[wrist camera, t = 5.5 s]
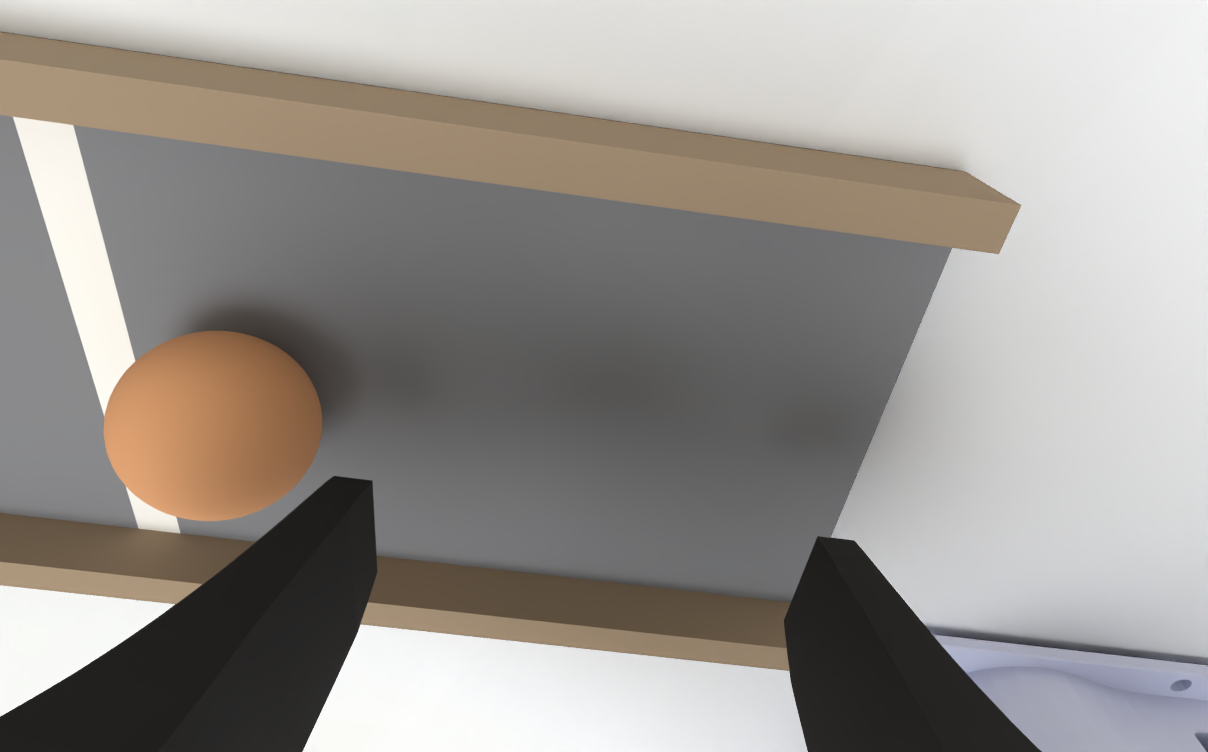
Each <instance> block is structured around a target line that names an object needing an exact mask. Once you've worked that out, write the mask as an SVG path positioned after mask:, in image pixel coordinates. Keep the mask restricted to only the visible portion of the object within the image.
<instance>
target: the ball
mask: <svg viewBox="0 0 1208 752" xmlns="http://www.w3.org/2000/svg"><path fill="white" fill-rule="evenodd" d="M103 434H104V440H105V447H106V452H107V455H108V457H109V460H110V462H111V465H112V467H113V469H114V471H115V472H116V474H117V476H118V477H119V478H120V479H121V481H122V482H123V483H124V484H125V486H126V487H127V488H128V489H129V490H130V491H131V492H132V493H133V494H134V495H135V496H137V497H138V498H139V499H141V500H142V501H143V502H145V503H146V504H148V505H150V506H151V507H153V508H155V509H157V510H159V511H161V512H164V513H166V514H169V515H172V516H175V517H179V518H184V519H189V520H196V521H222V520H229V519H235V518H239V517H243V516H246V515H249V514H252V513H254V512H257V511H260V510H262V509H264V508H266V507H268V506H270V505H271V504H273V503H274V502H276V501H277V500H279V499H281V498H282V497H283V496H285V495H286V494H287V493H288V492H289V491H291V490H292V489H293V488H294V487H295V486H296V485H297V483H298V482H299V481H300V480H301V479H302V478H303V476H304V475H305V473H306V472H307V470H308V469H309V467H310V466H311V464H312V462H313V460H314V458H315V455H316V453H317V451H318V448H319V444H320V439H321V434H322V411H321V405H320V402H319V398H318V395H317V392H316V390H315V388H314V386H313V384H312V382H311V380H310V378H309V377H308V375H307V374H306V372H305V371H304V370H303V368H302V367H301V366H300V365H299V364H298V363H297V362H296V361H295V360H294V359H293V358H292V357H291V356H289V355H288V354H287V353H286V352H284V351H283V350H281V349H280V348H278V347H277V346H275V345H273V344H271V343H269V342H267V341H265V340H262V339H259V338H257V337H254V336H250V335H247V334H242V333H237V332H230V331H203V332H195V333H191V334H186V335H183V336H179V337H176V338H174V339H171V340H168V341H166V342H164V343H162V344H160V345H158V346H156V347H154V348H153V349H151V350H150V351H148V352H147V353H145V354H144V355H142V356H141V357H140V358H139V359H137V360H136V361H135V362H134V363H133V364H132V365H131V366H130V367H129V368H128V369H127V370H126V371H125V373H124V374H123V375H122V377H121V378H120V379H119V381H118V382H117V384H116V386H115V387H114V389H113V391H112V393H111V395H110V398H109V401H108V404H107V408H106V411H105V417H104V431H103Z"/></svg>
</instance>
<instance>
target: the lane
mask: <svg viewBox="0 0 1208 752" xmlns="http://www.w3.org/2000/svg"><path fill="white" fill-rule="evenodd" d="M1020 207H1021V205H1020V204H1018V203H1016V202H1015V201H1013V200H1011V199H1010V198H1008V197H1006V196H1005V195H1003V194H1001V193H1000V192H998V191H996V190H995V189H993V188H991V187H990V186H988V185H986V184H985V183H983V182H981V181H980V180H978V179H976V178H975V177H973V176H971V175H970V174H968V173H966V172H963V171H957V170H950V169H943V168H936V167H929V166H922V165H915V164H908V163H901V162H894V161H887V160H881V159H874V158H867V157H860V156H853V155H846V154H839V153H832V152H825V151H818V150H812V149H805V148H798V147H791V146H784V145H777V144H770V143H763V142H756V141H749V140H742V139H736V138H729V137H722V136H715V135H708V134H701V133H694V132H687V131H680V130H673V129H667V128H660V127H653V126H646V125H639V124H632V123H625V122H618V121H611V120H604V119H597V118H591V117H584V116H577V115H570V114H563V113H556V112H549V111H542V110H535V109H528V108H522V107H515V106H508V105H501V104H494V103H487V102H480V101H473V100H466V99H459V98H452V97H446V96H439V95H432V94H425V93H418V92H411V91H404V90H397V89H390V88H383V87H376V86H370V85H363V84H356V83H349V82H342V81H335V80H328V79H321V78H314V77H307V76H301V75H294V74H287V73H280V72H273V71H266V70H259V69H252V68H245V67H238V66H231V65H225V64H218V63H211V62H204V61H197V60H190V59H183V58H176V57H169V56H162V55H156V54H149V53H142V52H135V51H128V50H121V49H114V48H107V47H100V46H93V45H86V44H80V43H73V42H66V41H59V40H52V39H45V38H38V37H31V36H24V35H17V34H11V33H4V32H0V585H4V586H13V587H23V588H32V589H41V590H50V591H59V592H69V593H78V594H87V595H96V596H106V597H115V598H124V599H133V600H142V601H152V602H161V603H170V604H177V603H178V602H179V601H181V600H182V599H184V598H185V597H186V596H188V595H189V594H190V593H192V592H193V591H194V590H196V589H197V588H198V587H200V586H201V585H202V584H204V583H205V582H206V581H208V580H209V579H210V578H212V577H213V576H214V575H215V574H217V573H218V572H219V571H220V570H222V569H223V568H224V567H226V566H227V565H228V564H229V563H230V562H232V561H233V560H234V559H235V558H237V557H238V556H239V555H240V554H241V553H243V552H244V551H245V550H246V549H248V548H249V547H250V546H251V545H252V544H254V543H255V542H256V541H257V540H259V539H260V538H261V537H262V536H263V535H265V534H266V533H267V532H268V531H269V530H271V529H272V528H273V527H274V526H275V525H276V524H278V523H279V522H280V521H281V520H282V519H283V518H285V517H286V516H287V515H288V514H289V513H290V512H292V511H293V510H294V509H295V508H296V507H297V506H298V505H300V504H301V503H302V502H303V501H304V500H305V499H306V498H308V497H309V496H310V495H311V494H312V493H313V492H315V491H316V490H317V489H318V488H319V487H320V486H321V485H323V484H324V483H325V482H326V481H327V480H329V479H330V478H332V477H333V476H340V477H348V478H356V479H364V480H372V481H373V500H374V518H375V536H376V554H377V575H376V578H375V581H374V584H373V588H372V591H371V594H370V597H369V600H368V603H367V606H366V609H365V612H364V615H363V618H362V621H361V624H363V625H372V626H382V627H391V628H400V629H409V630H418V631H428V632H437V633H446V634H455V635H464V636H474V637H483V638H492V639H501V640H510V641H520V642H529V643H538V644H547V645H556V646H566V647H575V648H584V649H593V650H602V651H612V652H621V653H630V654H639V655H648V656H658V657H667V658H676V659H685V660H695V661H704V662H713V663H722V664H731V665H741V666H750V667H759V668H768V669H777V670H787V671H790V670H789V663H788V656H787V647H786V638H785V628H784V618H785V616H786V613H787V611H788V608H789V606H790V603H791V601H792V599H793V596H794V594H795V591H796V589H797V586H798V584H799V581H800V579H801V576H802V574H803V571H804V569H805V566H806V564H807V561H808V559H809V556H810V554H811V551H812V549H813V546H814V544H815V541H816V539H817V536H820V537H828V538H830V537H831V535H832V533H833V530H834V528H835V525H836V523H837V521H838V518H839V516H840V513H841V511H842V509H843V506H844V504H845V502H846V499H847V497H848V494H849V492H850V490H851V487H852V485H853V483H854V480H855V478H856V475H857V473H858V471H859V468H860V466H861V463H862V461H863V459H864V456H865V454H866V452H867V449H868V447H869V444H870V442H871V440H872V437H873V435H874V433H875V430H876V428H877V425H878V423H879V421H880V418H881V416H882V413H883V411H884V409H885V406H886V404H887V402H888V399H889V397H890V394H891V392H892V390H893V387H894V385H895V383H896V380H897V378H898V375H899V373H900V371H901V368H902V366H903V364H904V361H905V359H906V356H907V354H908V352H909V349H910V347H911V344H912V342H913V340H914V337H915V335H916V333H917V330H918V328H919V325H920V323H921V321H922V318H923V316H924V314H925V311H926V309H927V306H928V304H929V302H930V299H931V297H932V294H933V292H934V290H935V287H936V285H937V283H938V280H939V278H940V275H941V273H942V271H943V268H944V266H945V264H946V261H947V259H948V256H949V254H950V252H951V249H952V248H959V249H966V250H973V251H980V252H987V253H995V254H999V252H1000V250H1001V248H1002V246H1003V244H1004V241H1005V239H1006V237H1007V235H1008V233H1009V231H1010V228H1011V226H1012V224H1013V222H1014V220H1015V217H1016V215H1017V213H1018V211H1019V209H1020ZM203 331H230V332H237V333H242V334H247V335H250V336H254V337H257V338H259V339H262V340H265V341H267V342H269V343H271V344H273V345H275V346H277V347H278V348H280V349H281V350H283V351H284V352H286V353H287V354H288V355H289V356H291V357H292V358H293V359H294V360H295V361H296V362H297V363H298V364H299V365H300V366H301V367H302V368H303V370H304V371H305V372H306V374H307V375H308V377H309V378H310V380H311V382H312V384H313V386H314V388H315V390H316V392H317V395H318V398H319V402H320V405H321V411H322V434H321V439H320V444H319V448H318V451H317V453H316V455H315V458H314V460H313V462H312V464H311V466H310V467H309V469H308V470H307V472H306V473H305V475H304V476H303V478H302V479H301V480H300V481H299V482H298V483H297V485H296V486H295V487H294V488H293V489H292V490H291V491H289V492H288V493H287V494H286V495H285V496H283V497H282V498H281V499H279V500H277V501H276V502H274V503H273V504H271V505H270V506H268V507H266V508H264V509H262V510H260V511H257V512H254V513H252V514H249V515H246V516H243V517H239V518H235V519H229V520H222V521H196V520H189V519H184V518H179V517H175V516H172V515H169V514H166V513H164V512H161V511H159V510H157V509H155V508H153V507H151V506H150V505H148V504H146V503H145V502H143V501H142V500H141V499H139V498H138V497H137V496H135V495H134V494H133V493H132V492H131V491H130V490H129V489H128V488H127V487H126V486H125V484H124V483H123V482H122V481H121V479H120V478H119V477H118V476H117V474H116V472H115V471H114V469H113V467H112V465H111V462H110V460H109V457H108V455H107V452H106V447H105V440H104V434H103V431H104V417H105V411H106V408H107V404H108V401H109V398H110V395H111V393H112V391H113V389H114V387H115V386H116V384H117V382H118V381H119V379H120V378H121V377H122V375H123V374H124V373H125V371H126V370H127V369H128V368H129V367H130V366H131V365H132V364H133V363H134V362H135V361H136V360H137V359H139V358H140V357H141V356H142V355H144V354H145V353H147V352H148V351H150V350H151V349H153V348H154V347H156V346H158V345H160V344H162V343H164V342H166V341H168V340H171V339H174V338H176V337H179V336H183V335H186V334H191V333H195V332H203Z"/></svg>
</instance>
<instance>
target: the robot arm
mask: <svg viewBox="0 0 1208 752" xmlns="http://www.w3.org/2000/svg"><path fill="white" fill-rule="evenodd" d="M376 575H377V554H376V536H375V518H374V500H373V481H372V480H364V479H356V478H348V477H340V476H333V477H332V478H330V479H329V480H327V481H326V482H325V483H324V484H323V485H321V486H320V487H319V488H318V489H317V490H316V491H315V492H313V493H312V494H311V495H310V496H309V497H308V498H306V499H305V500H304V501H303V502H302V503H301V504H300V505H298V506H297V507H296V508H295V509H294V510H293V511H292V512H290V513H289V514H288V515H287V516H286V517H285V518H283V519H282V520H281V521H280V522H279V523H278V524H276V525H275V526H274V527H273V528H272V529H271V530H269V531H268V532H267V533H266V534H265V535H263V536H262V537H261V538H260V539H259V540H257V541H256V542H255V543H254V544H252V545H251V546H250V547H249V548H248V549H246V550H245V551H244V552H243V553H241V554H240V555H239V556H238V557H237V558H235V559H234V560H233V561H232V562H230V563H229V564H228V565H227V566H226V567H224V568H223V569H222V570H220V571H219V572H218V573H217V574H215V575H214V576H213V577H212V578H210V579H209V580H208V581H206V582H205V583H204V584H202V585H201V586H200V587H198V588H197V589H196V590H194V591H193V592H192V593H190V594H189V595H188V596H186V597H185V598H184V599H182V600H181V601H179V602H178V603H177V604H175V605H174V606H173V607H171V608H170V609H169V610H167V611H166V612H165V613H163V614H162V615H161V616H159V617H158V618H156V619H155V620H154V621H152V622H151V623H149V624H148V625H146V626H145V627H144V628H142V629H141V630H139V631H138V632H136V633H135V634H134V635H132V636H131V637H129V638H128V639H126V640H125V641H123V642H122V643H120V644H119V645H117V646H116V647H114V648H113V649H111V650H110V651H108V652H107V653H105V654H104V655H102V656H100V657H99V658H97V659H96V660H94V661H93V662H91V663H90V664H88V665H87V666H85V667H83V668H82V669H80V670H79V671H77V672H76V673H74V674H72V675H71V676H69V677H67V678H66V679H64V680H62V681H61V682H59V683H57V684H56V685H54V686H52V687H51V688H49V689H47V690H46V691H44V692H42V693H41V694H39V695H37V696H35V697H34V698H32V699H30V700H29V701H27V702H25V703H23V704H22V705H20V706H18V707H16V708H15V709H13V710H11V711H10V712H8V713H6V714H4V715H3V716H1V717H0V752H302V751H303V749H304V747H305V745H306V743H307V740H308V738H309V736H310V734H311V732H312V730H313V728H314V726H315V723H316V721H317V719H318V717H319V715H320V713H321V711H322V708H323V706H324V704H325V702H326V700H327V698H328V696H329V693H330V691H331V689H332V687H333V685H334V683H335V681H336V678H337V676H338V674H339V672H340V670H341V668H342V665H343V663H344V661H345V659H346V657H347V655H348V652H349V650H350V648H351V646H352V644H353V641H354V639H355V637H356V635H357V632H358V630H359V627H360V624H361V621H362V618H363V615H364V612H365V609H366V606H367V603H368V600H369V597H370V594H371V591H372V588H373V584H374V581H375V578H376ZM784 628H785V638H786V647H787V656H788V663H789V670H790V678H791V684H792V688H793V693H794V697H795V701H796V705H797V709H798V713H799V717H800V722H801V726H802V730H803V734H804V738H805V742H806V746H807V750H808V752H1208V665H1199V664H1190V663H1181V662H1172V661H1164V660H1155V659H1146V658H1137V657H1128V656H1119V655H1110V654H1101V653H1092V652H1083V651H1074V650H1066V649H1057V648H1048V647H1039V646H1030V645H1021V644H1012V643H1003V642H994V641H985V640H976V639H968V638H959V637H950V636H941V635H932V634H931V632H930V631H929V630H928V629H927V628H926V626H925V625H924V624H923V623H922V622H921V621H920V619H919V618H918V617H917V616H916V615H915V613H914V612H913V611H912V610H911V609H910V607H909V606H908V605H907V604H906V602H905V601H904V600H903V599H902V598H901V596H900V595H899V594H898V593H897V592H896V590H895V589H894V588H893V587H892V585H891V584H890V583H889V582H888V581H887V579H886V578H885V577H884V576H883V574H882V573H881V572H880V571H879V570H878V568H877V567H876V566H875V565H874V563H873V562H872V561H871V560H870V559H869V557H868V556H867V555H866V554H865V553H864V551H863V550H862V549H861V548H860V547H859V546H858V544H857V543H856V542H855V541H852V540H844V539H836V538H828V537H820V536H817V539H816V541H815V544H814V546H813V549H812V551H811V554H810V556H809V559H808V561H807V564H806V566H805V569H804V571H803V574H802V576H801V579H800V581H799V584H798V586H797V589H796V591H795V594H794V596H793V599H792V601H791V603H790V606H789V608H788V611H787V613H786V616H785V618H784Z"/></svg>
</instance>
